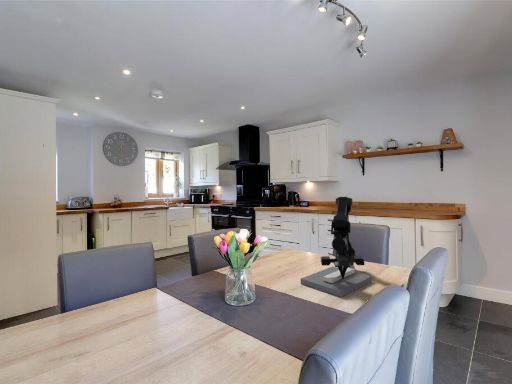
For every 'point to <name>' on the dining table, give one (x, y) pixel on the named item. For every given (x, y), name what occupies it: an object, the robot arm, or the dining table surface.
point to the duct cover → (338, 275)
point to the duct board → (338, 287)
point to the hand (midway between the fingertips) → (342, 279)
